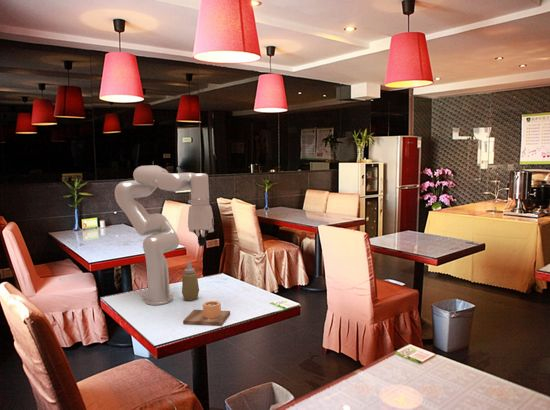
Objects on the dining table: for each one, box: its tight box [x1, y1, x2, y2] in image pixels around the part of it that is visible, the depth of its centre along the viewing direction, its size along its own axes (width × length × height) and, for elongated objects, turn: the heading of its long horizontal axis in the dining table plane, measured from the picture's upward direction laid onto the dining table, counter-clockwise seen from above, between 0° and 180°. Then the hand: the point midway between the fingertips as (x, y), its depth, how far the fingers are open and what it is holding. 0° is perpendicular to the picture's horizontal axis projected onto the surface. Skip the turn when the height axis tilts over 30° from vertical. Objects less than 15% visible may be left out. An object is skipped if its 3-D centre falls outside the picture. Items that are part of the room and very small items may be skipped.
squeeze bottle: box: [181, 260, 200, 302], centre depth 195 cm, size 8×8×18 cm
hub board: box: [182, 304, 231, 327], centre depth 170 cm, size 16×12×6 cm
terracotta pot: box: [202, 300, 222, 319], centre depth 170 cm, size 7×7×6 cm
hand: (202, 245), depth 176 cm, fingers closed
